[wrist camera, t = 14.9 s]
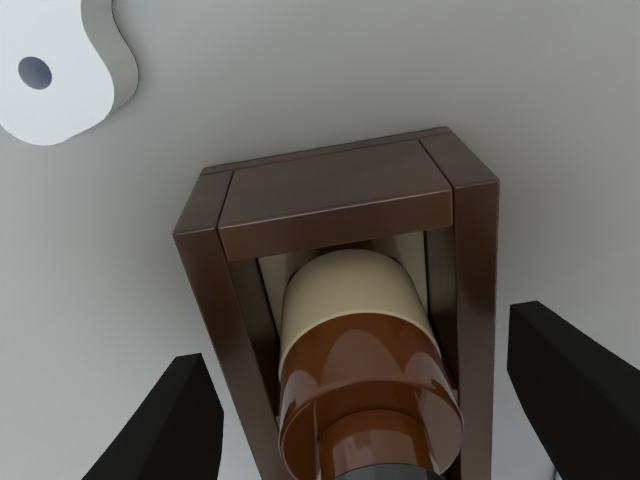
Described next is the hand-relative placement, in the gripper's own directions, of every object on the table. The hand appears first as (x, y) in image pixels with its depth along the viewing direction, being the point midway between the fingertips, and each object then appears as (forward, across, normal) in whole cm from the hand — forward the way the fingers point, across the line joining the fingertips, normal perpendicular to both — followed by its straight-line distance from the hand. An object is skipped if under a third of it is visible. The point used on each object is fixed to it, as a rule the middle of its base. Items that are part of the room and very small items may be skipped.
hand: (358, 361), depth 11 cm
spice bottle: (+4, 0, 0) cm, 4 cm away
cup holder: (+5, 0, +6) cm, 8 cm away
